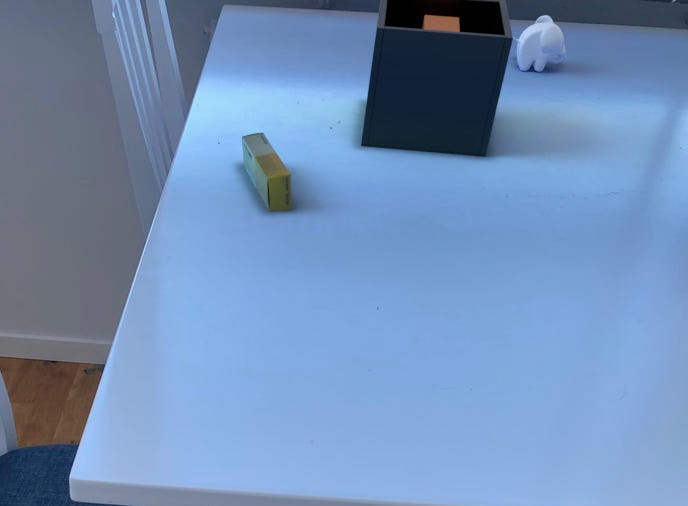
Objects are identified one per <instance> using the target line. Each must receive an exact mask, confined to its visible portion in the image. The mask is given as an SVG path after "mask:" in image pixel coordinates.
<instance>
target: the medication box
mask: <svg viewBox="0 0 688 506" xmlns="http://www.w3.org/2000/svg"><path fill="white" fill-rule="evenodd" d="M241 142H242V152H243V153H242V155H243V167H244V169H245V171H246V173H247V175H248V176H249V178H250V180H251V182H252V183H253V185H254V187H255V189H256V191H257V192H258V195H259V196H260V198H261V200H262V202H263V203H264V205H265V207H266V208H267V210H268V212H282V211H283V212H285V211H291V210H293V208H292V207H293V205H292V203H293V202H292V176H291V175H292V174H291V172H290V171H289V170H288V168H287V167H286V165H285V164H284V162H283V161H282V159H281V157H280V155H279V154H278V153H277V151H276V150H275V148H274V146H272V144H271V142H270V141H269V139H268V137H267V136H266V134H265V133H264V132H254V133H250V134H246V135H242V137H241Z"/></svg>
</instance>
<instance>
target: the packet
mask: <svg viewBox="0 0 688 506" xmlns="http://www.w3.org/2000/svg"><path fill="white" fill-rule="evenodd" d="M422 29H427V30H440V31H454V32H460V25H459V17H446V16H432V15H425V16H424V21H423V27H422Z"/></svg>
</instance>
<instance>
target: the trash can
mask: <svg viewBox="0 0 688 506" xmlns="http://www.w3.org/2000/svg"><path fill="white" fill-rule="evenodd" d="M425 15H432V16H446V17H459V25H460V32H454V31H440V30H427V29H422V27H423V21H424V16H425ZM513 37H514V36H513V32H512V25H511V21H510V15H509V11H508V6H507V0H379V7H378V15H377V21H376V29H375V37H374V42H373V43H374V44H373V52H372V59H371V66H370V73H369V81H368V88H367V96H366V103H365V111H364V117H363V125H362V133H361V139H360V140H361V141H360V147H366V148H376V149H377V148H378V149H387V150H400V151H411V152H423V153H434V154H446V155H458V156H468V157H478V158H479V157H481V158H486V155H487V151H488V148H489V143H490V139H491V136H492V135H491V134H492V130H493V126H494V122H495V119H496V113H497V109H498V105H499V101H500V97H501V91H502V87H503V82H504V78H505V75H506V70H507V66H508V62H509V57H510V53H511V48H512V44H513V40H514V39H513Z"/></svg>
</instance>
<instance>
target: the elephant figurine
mask: <svg viewBox="0 0 688 506" xmlns="http://www.w3.org/2000/svg"><path fill="white" fill-rule="evenodd" d="M513 40H515V41H516V42H517V44H516V45H517V46H516V63H517V65H518V66H519V69H520V71H523V72H526V71H529V70H530V68H531V66H532V67H533V70H534V71H535V72H538V73H540V72H543V70H544V69H545V67H546V64H547V62H548V61H549V59H550V58H551V57H552V56H557V57H552V58H551V62H552V63H553V64H555V65H556V64H559V63H560V62H561V61H563V60H564V57H565V58H567V57H568V56H567V55H566V53H567V49H566V46H565V37H564V33H563V31H562V29H561V27H559V25H557V24H556V23H554V20H553V19H552V17H551V16H550V15H541V16H539V17H538V18H537V19H536V20H535V22H534V24H531V25H530V26H528V27H527V28H525V29H524V30H523V31H522V33H521V34H520V36H519V38H515V37H514V36H513Z"/></svg>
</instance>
